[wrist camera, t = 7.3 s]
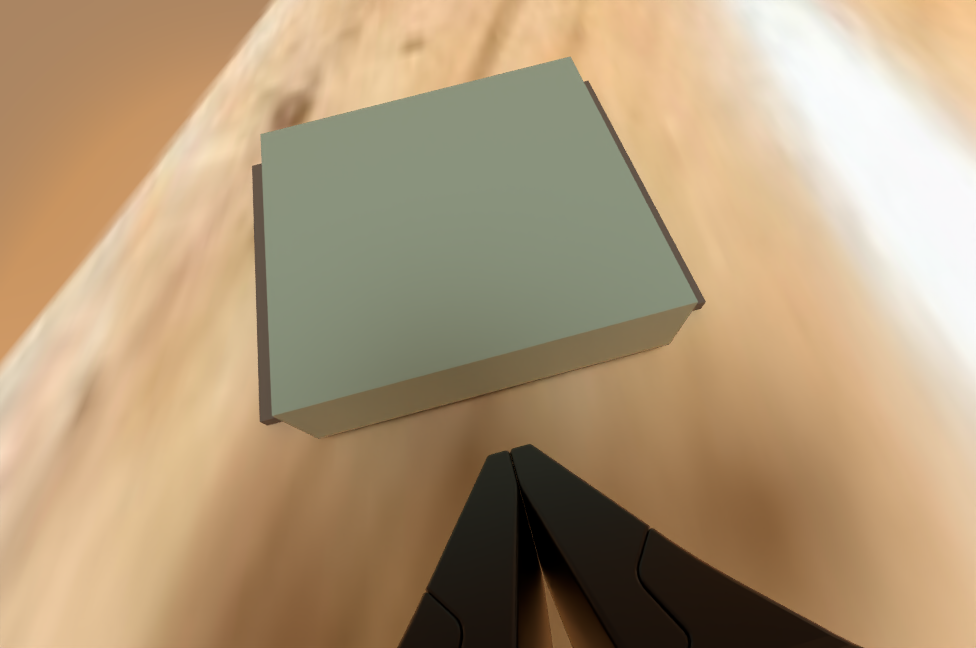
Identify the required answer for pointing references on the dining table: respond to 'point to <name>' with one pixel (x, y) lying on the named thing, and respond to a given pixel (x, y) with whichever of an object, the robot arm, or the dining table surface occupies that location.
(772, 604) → the robot arm
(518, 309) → the glazed tile block
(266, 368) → the mat
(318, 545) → the dining table surface
